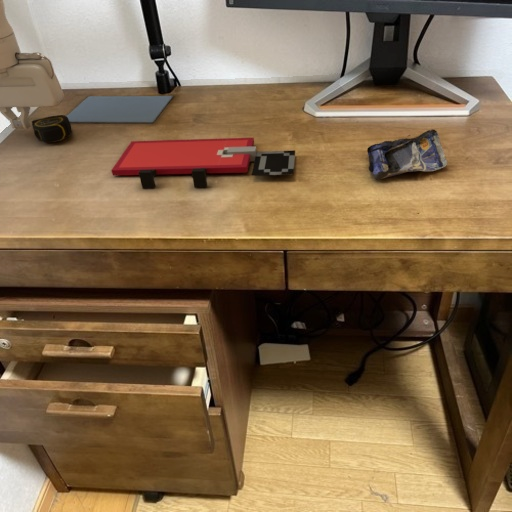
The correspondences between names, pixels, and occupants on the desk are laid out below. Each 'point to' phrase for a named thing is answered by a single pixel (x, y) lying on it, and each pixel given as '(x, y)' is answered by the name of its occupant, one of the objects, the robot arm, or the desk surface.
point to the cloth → (119, 109)
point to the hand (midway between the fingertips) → (22, 127)
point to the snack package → (406, 155)
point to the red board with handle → (200, 159)
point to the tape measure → (52, 128)
